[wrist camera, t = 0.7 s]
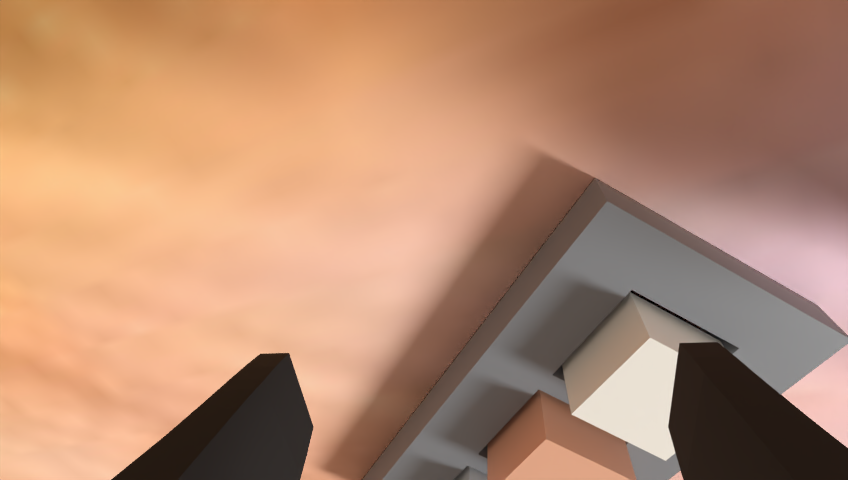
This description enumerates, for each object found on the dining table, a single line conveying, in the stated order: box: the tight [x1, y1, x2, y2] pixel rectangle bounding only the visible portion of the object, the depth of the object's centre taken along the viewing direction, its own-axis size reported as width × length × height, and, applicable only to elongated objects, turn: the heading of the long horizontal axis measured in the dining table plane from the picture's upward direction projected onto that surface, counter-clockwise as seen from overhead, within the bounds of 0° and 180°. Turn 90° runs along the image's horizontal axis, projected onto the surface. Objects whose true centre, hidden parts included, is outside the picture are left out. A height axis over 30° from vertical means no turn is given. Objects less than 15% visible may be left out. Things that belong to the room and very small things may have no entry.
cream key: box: [562, 292, 724, 461], centre depth 17 cm, size 4×4×2 cm
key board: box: [362, 178, 848, 480], centre depth 21 cm, size 10×20×2 cm, turn 152°
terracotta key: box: [487, 390, 636, 480], centre depth 20 cm, size 4×4×2 cm
